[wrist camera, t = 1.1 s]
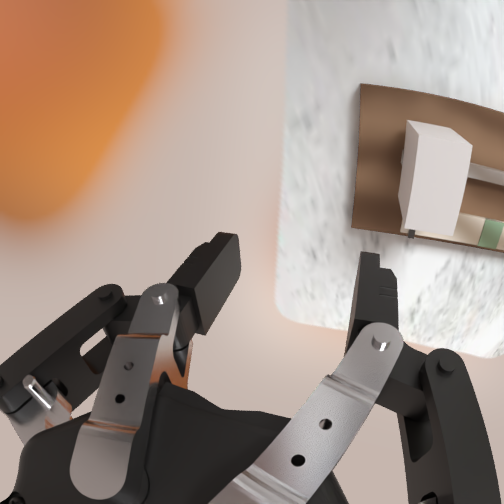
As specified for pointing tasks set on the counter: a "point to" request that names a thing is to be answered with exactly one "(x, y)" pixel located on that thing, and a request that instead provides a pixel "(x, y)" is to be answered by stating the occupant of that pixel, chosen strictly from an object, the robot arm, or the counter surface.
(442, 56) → the counter surface
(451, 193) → the block
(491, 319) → the counter surface
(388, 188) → the base
